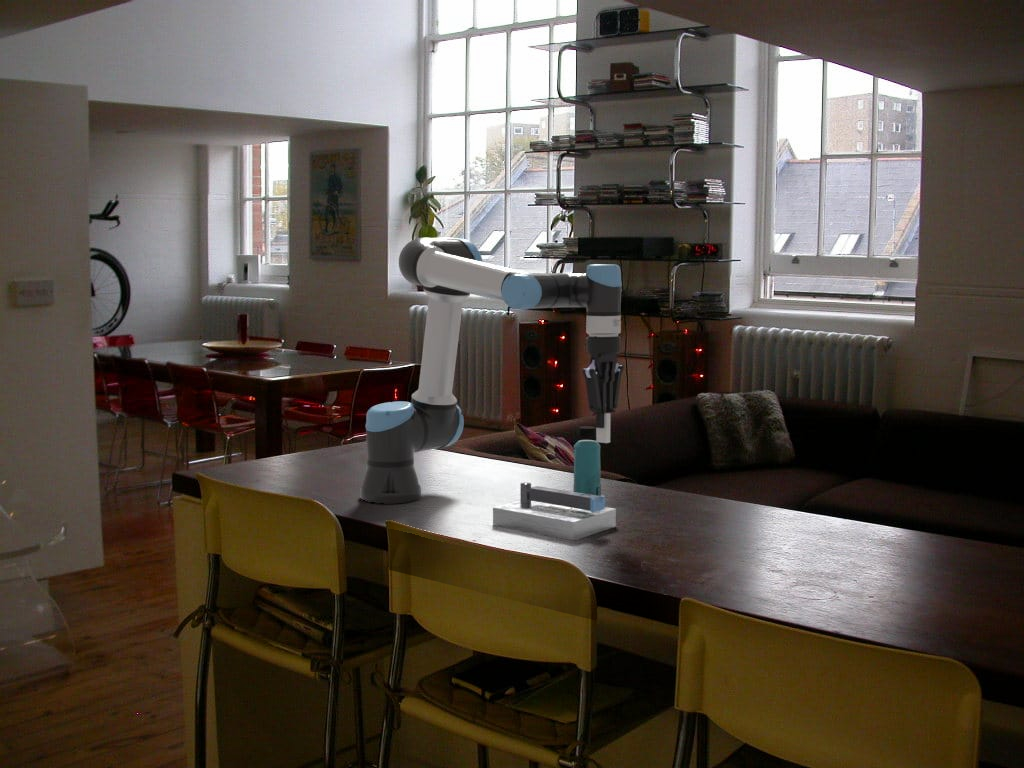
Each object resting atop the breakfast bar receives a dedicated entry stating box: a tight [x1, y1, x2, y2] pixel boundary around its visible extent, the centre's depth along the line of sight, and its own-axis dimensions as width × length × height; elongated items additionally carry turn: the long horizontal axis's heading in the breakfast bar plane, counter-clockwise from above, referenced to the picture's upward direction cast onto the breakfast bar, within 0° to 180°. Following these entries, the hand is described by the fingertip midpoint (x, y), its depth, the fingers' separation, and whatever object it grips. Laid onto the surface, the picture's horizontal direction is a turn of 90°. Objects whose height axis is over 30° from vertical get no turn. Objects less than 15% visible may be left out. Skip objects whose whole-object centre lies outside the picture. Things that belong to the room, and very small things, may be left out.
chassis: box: [492, 482, 617, 542], centre depth 243 cm, size 22×16×8 cm
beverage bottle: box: [572, 425, 602, 496], centre depth 258 cm, size 6×7×20 cm
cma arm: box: [530, 485, 606, 512], centre depth 241 cm, size 18×4×3 cm, turn 51°
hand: (603, 442), depth 242 cm, fingers closed
